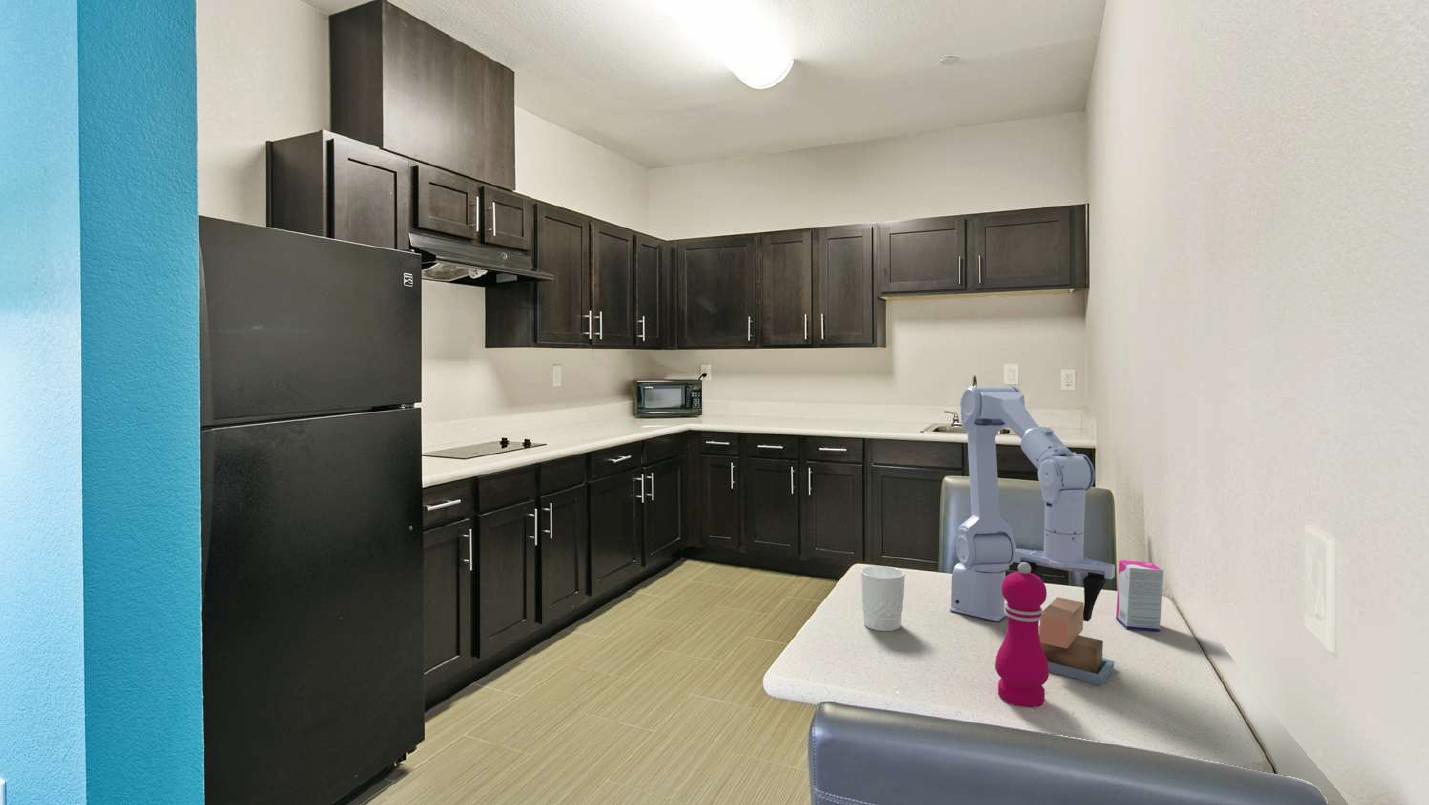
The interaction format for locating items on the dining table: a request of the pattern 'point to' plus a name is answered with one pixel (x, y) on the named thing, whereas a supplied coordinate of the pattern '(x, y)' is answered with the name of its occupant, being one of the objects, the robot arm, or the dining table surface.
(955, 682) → the dining table surface
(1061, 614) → the pinkish tan block
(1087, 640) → the wooden block on base
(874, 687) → the dining table surface
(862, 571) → the white cup
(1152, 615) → the supplement box
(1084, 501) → the robot arm
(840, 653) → the dining table surface
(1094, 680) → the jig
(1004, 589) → the pepper mill
